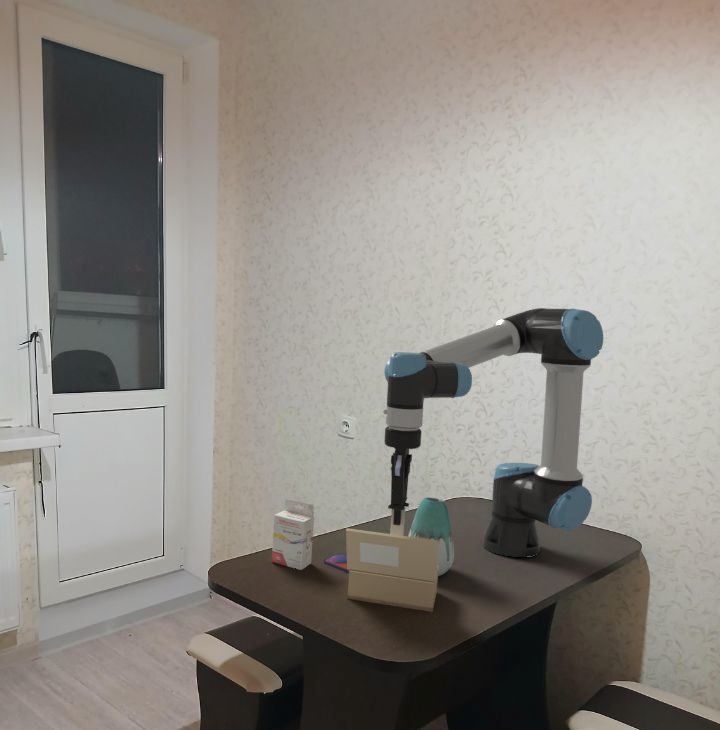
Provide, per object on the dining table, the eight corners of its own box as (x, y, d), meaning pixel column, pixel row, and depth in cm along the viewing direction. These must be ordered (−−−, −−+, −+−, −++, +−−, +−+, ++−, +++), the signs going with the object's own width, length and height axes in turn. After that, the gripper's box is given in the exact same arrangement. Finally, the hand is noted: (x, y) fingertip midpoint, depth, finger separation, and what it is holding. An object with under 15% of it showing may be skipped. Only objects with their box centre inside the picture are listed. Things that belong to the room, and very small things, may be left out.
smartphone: (341, 556, 159) (341, 552, 158) (389, 573, 149) (389, 569, 149) (321, 564, 153) (321, 560, 153) (369, 583, 143) (370, 578, 143)
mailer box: (436, 592, 140) (438, 565, 140) (432, 612, 130) (434, 583, 130) (357, 580, 144) (359, 554, 143) (347, 598, 134) (349, 571, 133)
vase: (424, 558, 160) (429, 488, 158) (462, 573, 151) (467, 500, 150) (393, 569, 151) (398, 495, 150) (431, 585, 143) (437, 508, 142)
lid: (438, 540, 126) (438, 543, 125) (436, 581, 130) (436, 584, 129) (346, 528, 129) (345, 531, 128) (348, 568, 134) (347, 571, 133)
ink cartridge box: (270, 562, 150) (273, 502, 149) (281, 556, 155) (284, 497, 154) (301, 570, 147) (305, 509, 146) (312, 563, 151) (315, 503, 150)
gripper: (390, 420, 138) (383, 526, 140) (380, 431, 125) (373, 546, 127) (424, 423, 136) (417, 530, 138) (418, 434, 124) (410, 551, 125)
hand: (396, 538), depth 133 cm, fingers closed
